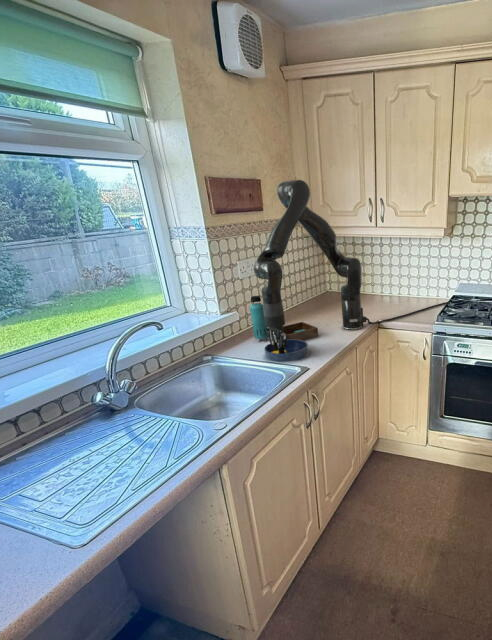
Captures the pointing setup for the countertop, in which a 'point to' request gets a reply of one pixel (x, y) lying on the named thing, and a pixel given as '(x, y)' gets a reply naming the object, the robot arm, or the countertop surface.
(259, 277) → the robot arm
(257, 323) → the beverage bottle
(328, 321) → the countertop surface
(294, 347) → the bowl
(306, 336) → the box
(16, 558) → the countertop surface
